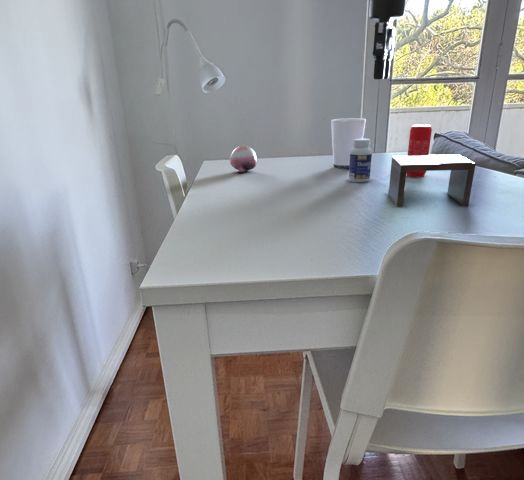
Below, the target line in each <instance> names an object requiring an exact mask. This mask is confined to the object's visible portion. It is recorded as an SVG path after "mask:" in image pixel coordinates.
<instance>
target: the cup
mask: <svg viewBox="0 0 524 480" xmlns="http://www.w3.org/2000/svg"><path fill="white" fill-rule="evenodd" d="M366 123H367V119H366V118H361V117H344V118H335V119H334V118H333V119H330V126H331V129H330V130H331V149H332V164H333V167H334V168H337V169H341V170H342V169H343V168H344V167H346V168H347V169H349V164H350V151H351V149H353V148H354V146H353V142H354V139H361V138H364V136H365V129H366Z"/></svg>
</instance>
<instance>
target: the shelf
mask: <svg viewBox="0 0 524 480" xmlns="http://www.w3.org/2000/svg"><path fill="white" fill-rule="evenodd" d="M476 165H477V163H476V162H474V161H472V160H470V159H468V158H467V157H465V156H462V155H461V154H429V155H421V156H407V155H392V156H391V164H390V174H389V185H388V196H389V197H390V199H391V200H392V202H393V203H394V205H395V206H396V207H397V208H399V207H401V208H403V206H404V198H405V191H406V188H405V187H406V181H407V174H406V172H407V171H426V172H431V171H434V172H435V171H436V172H437V171H450V174H449V179H448V186H447V191H446V192H447V195H448V196H450V197H451V198H452V199H453V200H455V201H456V202H457V203H458V204H459V205H461V206H462V207H468V206H469V204H470V198H471V193H472V187H473V182H474V176H475V170H476Z"/></svg>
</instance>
